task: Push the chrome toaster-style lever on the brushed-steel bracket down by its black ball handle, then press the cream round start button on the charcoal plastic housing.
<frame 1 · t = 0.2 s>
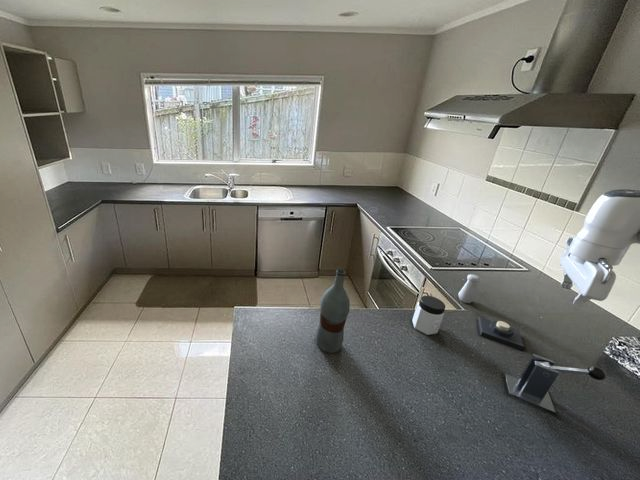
hand: (570, 295, 77), 31 cm above the worktop, tool pointing down, fingers open, 8 cm apart
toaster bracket: (527, 394, 83), on the worktop
toaster lever: (569, 370, 76), point 13 cm above the worktop, hinge at 25.0°
button housing: (498, 335, 105), on the worktop
start button: (502, 326, 104), point 4 cm above the worktop, slide at 0.1 cm
bottle: (327, 344, 98), on the worktop
jar: (424, 327, 108), on the worktop
salt shaker: (464, 301, 125), on the worktop
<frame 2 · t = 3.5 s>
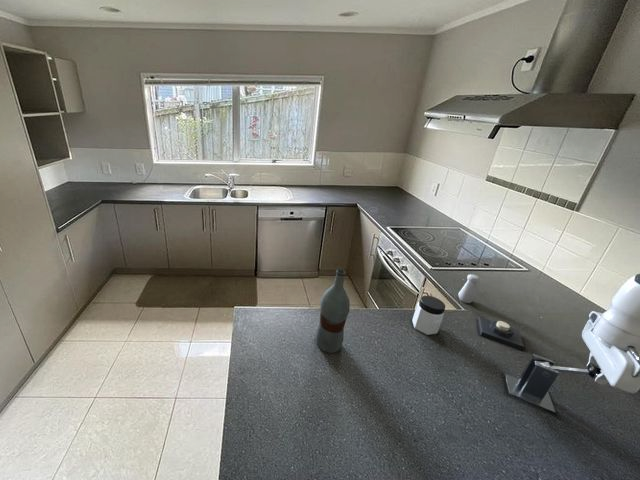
hand: (594, 375, 73), 14 cm above the worktop, tool pointing down, fingers closed on toaster lever, 3 cm apart
toaster lever: (569, 370, 76), point 13 cm above the worktop, hinge at 25.0°, touching gripper
everything else where it was.
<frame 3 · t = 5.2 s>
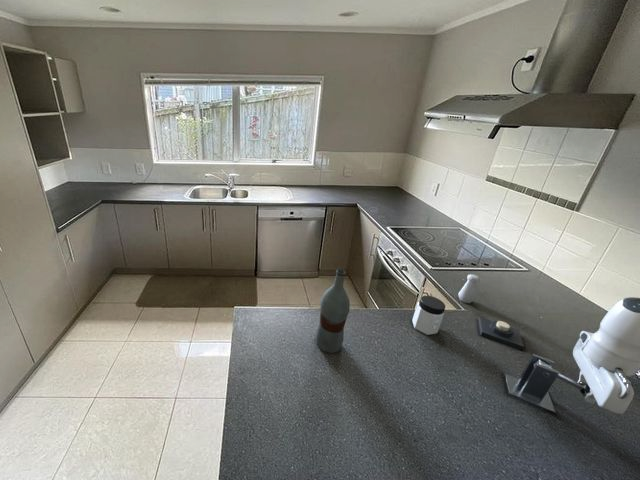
hand: (584, 393, 76), 8 cm above the worktop, tool pointing down, fingers closed on toaster lever, 3 cm apart
toaster lever: (565, 379, 77), point 10 cm above the worktop, hinge at -12.0°, touching gripper
everything else where it was.
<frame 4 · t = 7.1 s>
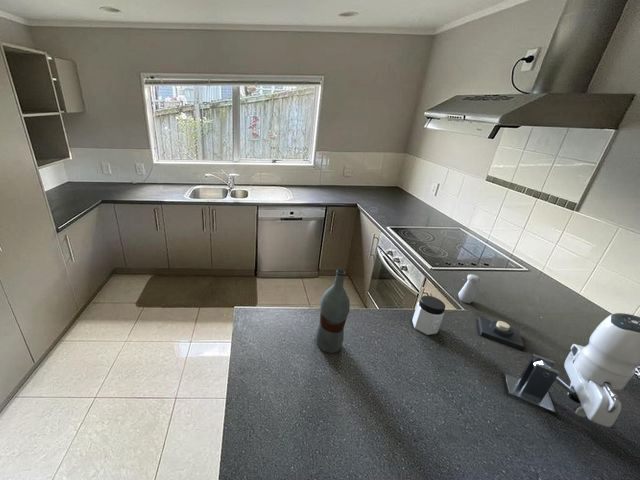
hand: (575, 405, 78), 3 cm above the worktop, tool pointing down, fingers open, 4 cm apart
toaster lever: (560, 382, 78), point 8 cm above the worktop, hinge at -30.3°
everything else where it was.
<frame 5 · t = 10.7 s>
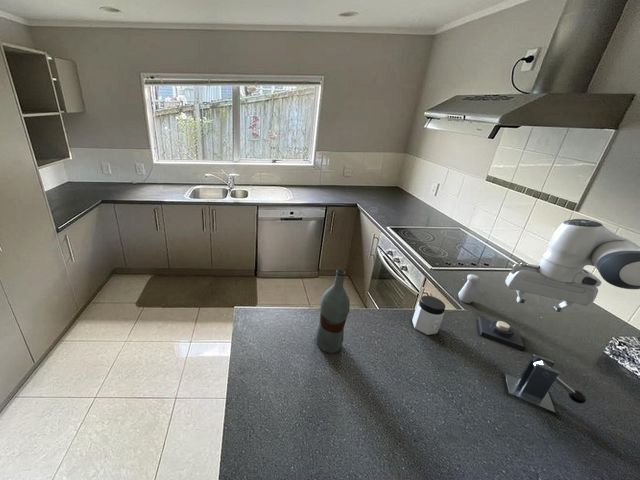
hand: (538, 306, 90), 20 cm above the worktop, tool pointing down, fingers open, 8 cm apart
nothing on the worktop moved.
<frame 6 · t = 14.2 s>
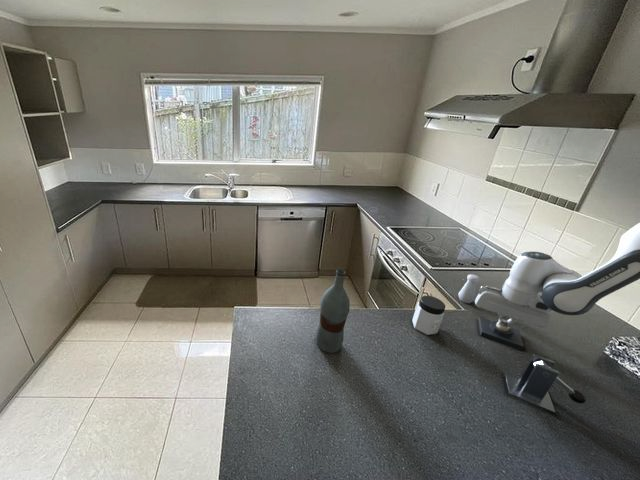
hand: (503, 324, 104), 5 cm above the worktop, tool pointing down, fingers closed, pressing on start button
start button: (502, 326, 104), point 4 cm above the worktop, slide at -0.2 cm, touching gripper
everything else where it was.
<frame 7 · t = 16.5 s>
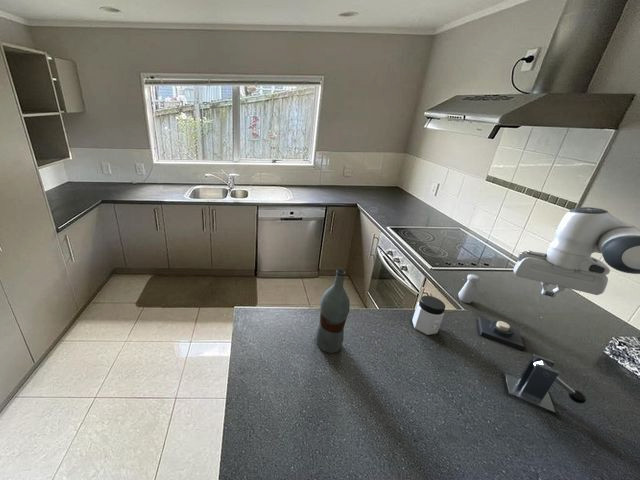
hand: (547, 295, 91), 23 cm above the worktop, tool pointing down, fingers closed
start button: (502, 326, 104), point 4 cm above the worktop, slide at 0.1 cm
everything else where it was.
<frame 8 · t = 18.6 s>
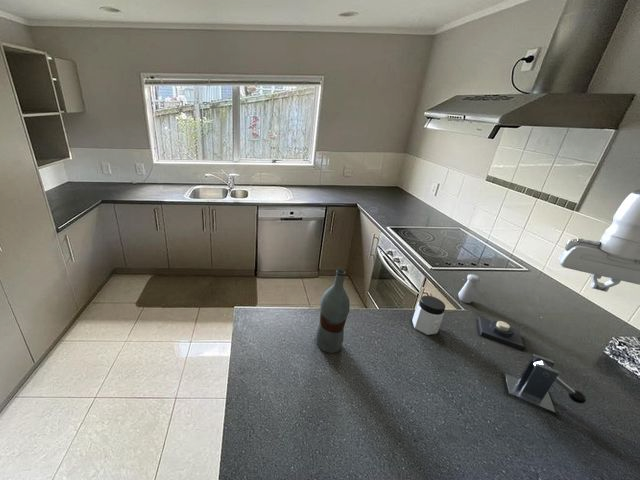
hand: (598, 289, 81), 31 cm above the worktop, tool pointing down, fingers closed
nothing on the worktop moved.
at the end: toaster lever at -30° (first picture: +25°); start button pushed in 1.0 cm at the most during the clip, back to where it started at the end; start button slide at 0.1 cm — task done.
